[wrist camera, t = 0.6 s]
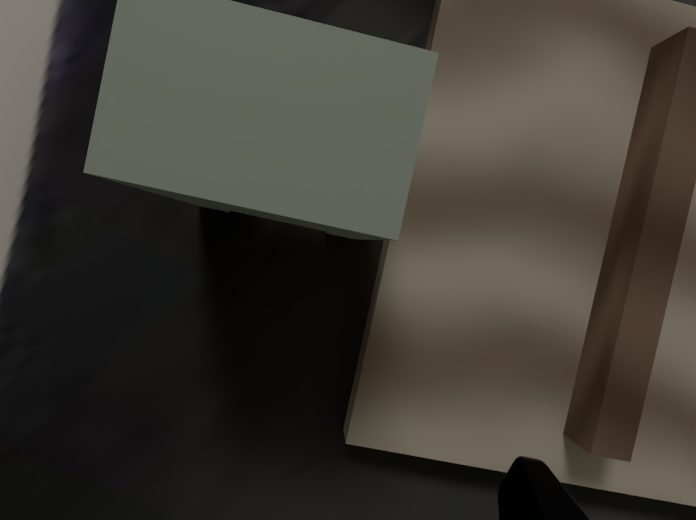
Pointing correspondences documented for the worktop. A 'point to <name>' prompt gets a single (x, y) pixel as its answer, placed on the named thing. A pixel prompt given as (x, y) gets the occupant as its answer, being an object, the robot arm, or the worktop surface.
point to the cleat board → (546, 251)
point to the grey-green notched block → (261, 114)
